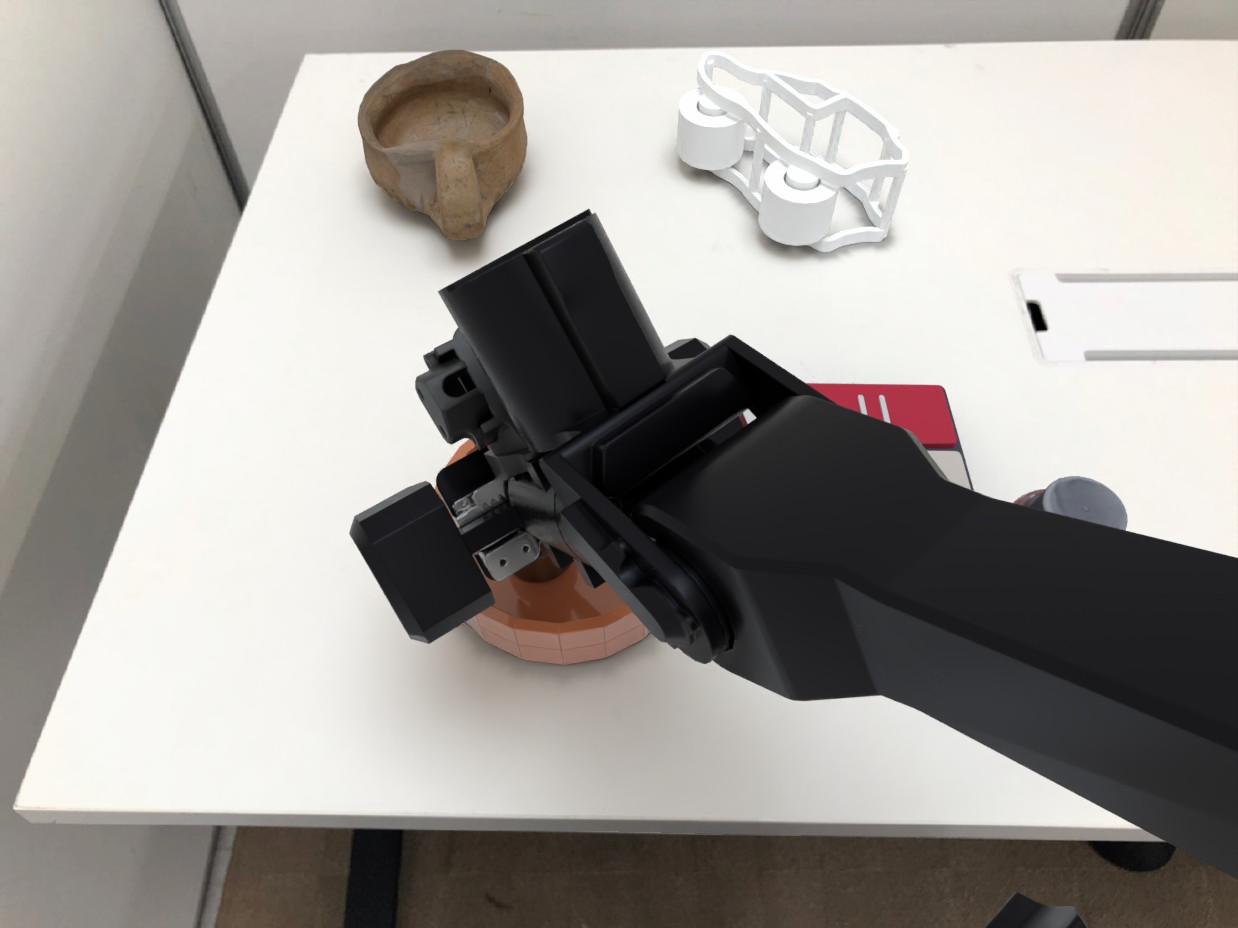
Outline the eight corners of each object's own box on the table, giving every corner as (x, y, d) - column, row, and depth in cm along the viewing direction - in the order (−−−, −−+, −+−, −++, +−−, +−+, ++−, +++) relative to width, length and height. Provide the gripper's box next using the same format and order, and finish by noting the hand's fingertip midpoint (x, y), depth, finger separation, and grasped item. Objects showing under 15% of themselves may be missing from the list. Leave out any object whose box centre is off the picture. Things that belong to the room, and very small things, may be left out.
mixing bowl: (715, 642, 50) (723, 607, 46) (452, 688, 49) (435, 655, 45) (663, 433, 59) (665, 387, 55) (437, 467, 58) (422, 422, 54)
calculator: (991, 522, 50) (736, 520, 50) (964, 556, 54) (725, 554, 53) (948, 376, 57) (721, 373, 56) (927, 415, 60) (712, 413, 60)
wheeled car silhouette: (652, 150, 76) (654, 72, 70) (751, 107, 79) (761, 29, 73) (800, 284, 67) (817, 208, 60) (905, 229, 70) (931, 151, 64)
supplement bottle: (1078, 633, 50) (1179, 539, 41) (992, 669, 49) (1076, 581, 40) (1016, 549, 54) (1097, 444, 44) (933, 582, 52) (998, 481, 43)
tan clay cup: (597, 214, 69) (557, 118, 61) (448, 304, 69) (387, 222, 61) (511, 95, 78) (466, -3, 69) (379, 176, 78) (317, 88, 70)
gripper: (733, 208, 34) (591, 261, 48) (290, 428, 28) (279, 415, 43) (833, 454, 37) (671, 436, 51) (448, 700, 31) (387, 602, 46)
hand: (513, 466), depth 48 cm, fingers closed on pestle, 3 cm apart
